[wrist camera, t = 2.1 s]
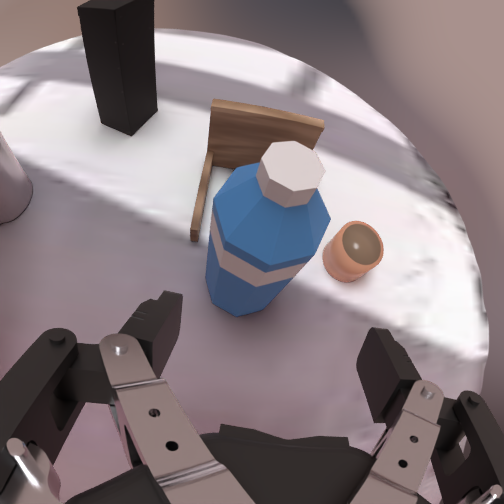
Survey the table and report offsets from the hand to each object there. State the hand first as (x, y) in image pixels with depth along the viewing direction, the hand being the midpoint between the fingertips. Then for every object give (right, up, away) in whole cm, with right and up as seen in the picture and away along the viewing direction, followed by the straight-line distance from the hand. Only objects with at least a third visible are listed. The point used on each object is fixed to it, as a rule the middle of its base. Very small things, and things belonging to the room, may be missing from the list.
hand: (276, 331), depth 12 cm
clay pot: (+13, +2, +33) cm, 36 cm away
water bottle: (-3, -1, +29) cm, 29 cm away
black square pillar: (-23, +28, +37) cm, 52 cm away
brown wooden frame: (-2, +10, +34) cm, 35 cm away
